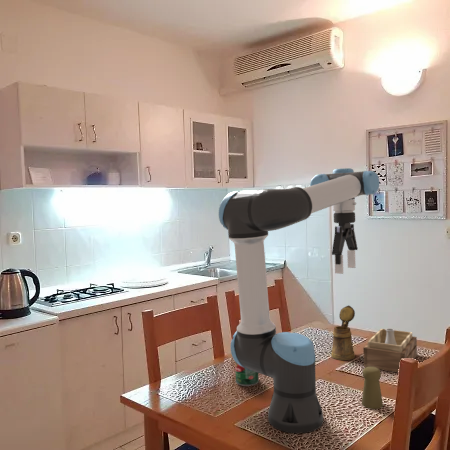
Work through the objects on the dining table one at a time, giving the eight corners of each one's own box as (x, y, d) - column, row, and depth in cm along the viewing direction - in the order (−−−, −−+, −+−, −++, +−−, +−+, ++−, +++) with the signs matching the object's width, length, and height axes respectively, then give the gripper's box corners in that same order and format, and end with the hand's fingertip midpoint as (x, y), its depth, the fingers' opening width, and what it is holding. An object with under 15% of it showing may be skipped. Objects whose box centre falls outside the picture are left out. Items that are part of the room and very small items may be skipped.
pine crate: (401, 368, 161) (401, 346, 161) (368, 363, 167) (367, 341, 167) (412, 353, 176) (412, 332, 176) (381, 348, 183) (381, 328, 182)
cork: (380, 410, 133) (379, 373, 132) (359, 406, 136) (358, 369, 136) (385, 402, 138) (384, 366, 138) (364, 398, 141) (364, 363, 141)
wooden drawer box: (404, 373, 159) (404, 353, 159) (363, 366, 167) (363, 347, 167) (416, 354, 177) (416, 336, 176) (379, 349, 185) (379, 332, 184)
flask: (381, 358, 169) (380, 331, 169) (379, 352, 176) (379, 326, 176) (402, 359, 168) (402, 332, 167) (399, 353, 175) (399, 326, 174)
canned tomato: (263, 380, 158) (262, 348, 158) (248, 388, 152) (247, 355, 152) (245, 375, 164) (244, 344, 163) (230, 382, 158) (229, 350, 157)
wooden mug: (361, 351, 184) (360, 306, 183) (350, 361, 172) (349, 314, 171) (339, 347, 189) (338, 304, 188) (327, 358, 177) (326, 311, 176)
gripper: (342, 213, 154) (344, 276, 155) (364, 210, 175) (366, 265, 176) (321, 213, 158) (323, 275, 159) (345, 210, 179) (346, 265, 180)
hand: (345, 270), depth 168 cm, fingers open, 13 cm apart
